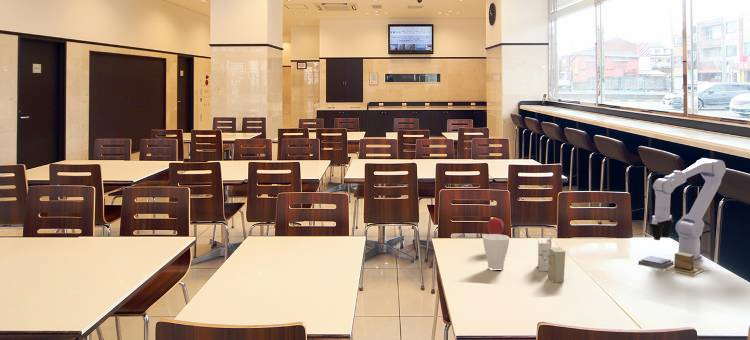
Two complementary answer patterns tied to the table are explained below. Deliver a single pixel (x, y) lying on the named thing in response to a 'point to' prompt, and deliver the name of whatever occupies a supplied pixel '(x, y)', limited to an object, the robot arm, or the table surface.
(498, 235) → the cup
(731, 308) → the table surface
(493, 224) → the lollipop
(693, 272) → the marked card
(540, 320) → the table surface
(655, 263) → the ink pad
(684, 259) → the brown rectangular block
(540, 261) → the gray blocky tower
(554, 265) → the skincare box
